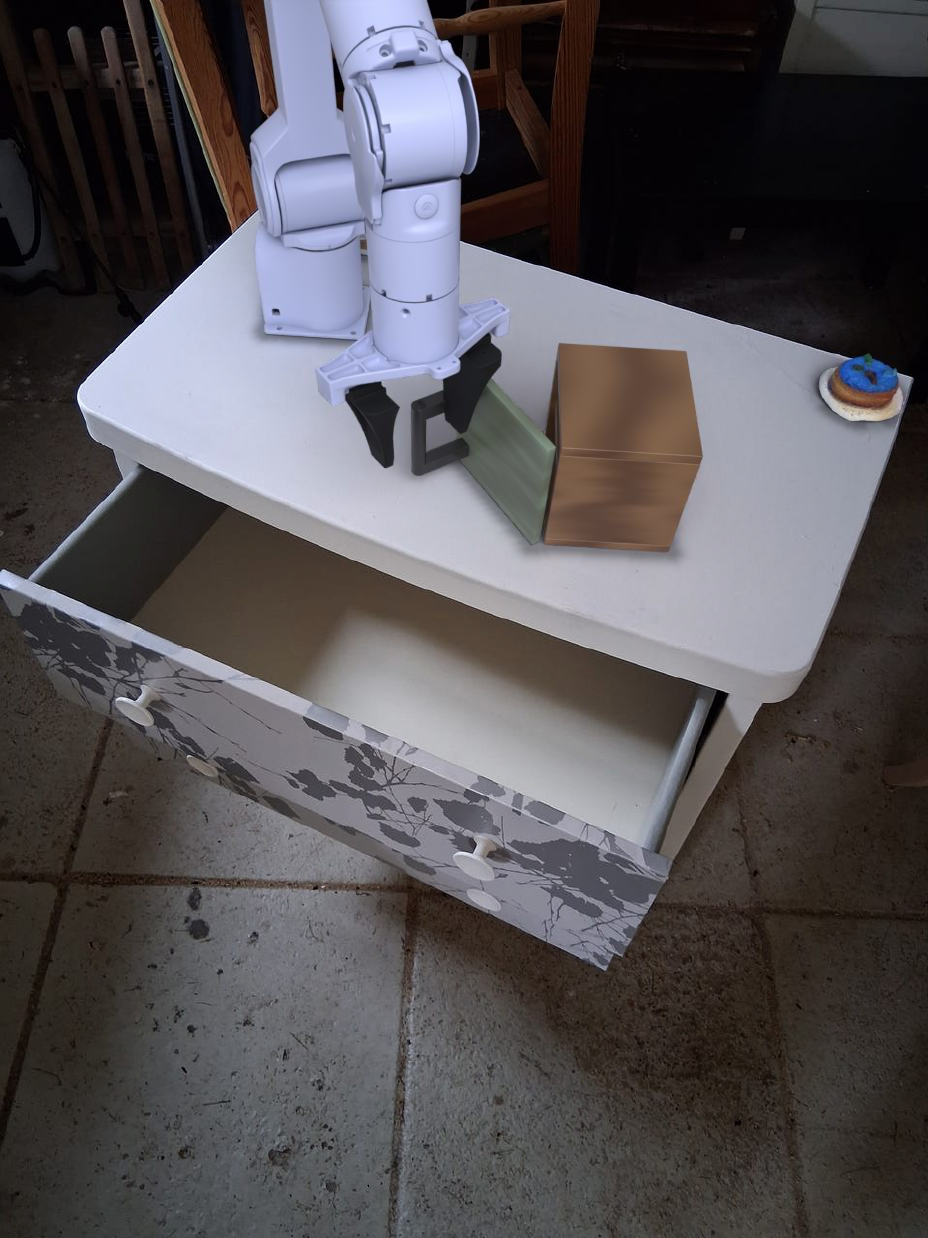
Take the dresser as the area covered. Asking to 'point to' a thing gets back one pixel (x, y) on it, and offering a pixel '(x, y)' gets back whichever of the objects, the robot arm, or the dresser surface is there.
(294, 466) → the dresser surface
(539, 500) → the door
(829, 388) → the dessert
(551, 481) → the cupboard
